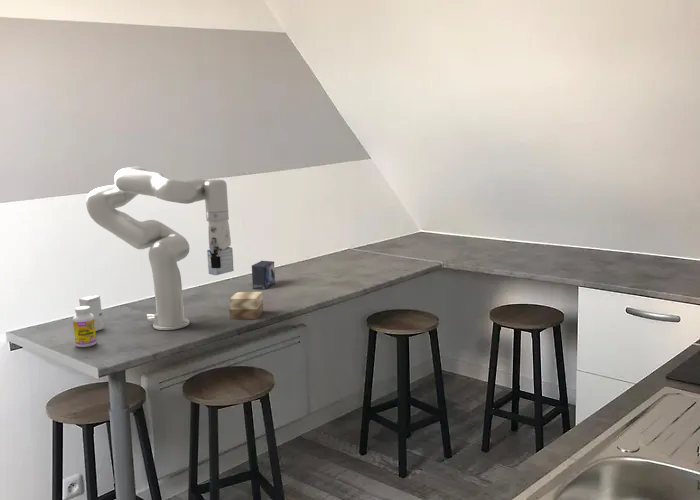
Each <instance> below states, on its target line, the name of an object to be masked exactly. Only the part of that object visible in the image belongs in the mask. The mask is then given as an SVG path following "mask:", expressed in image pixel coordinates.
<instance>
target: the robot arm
mask: <svg viewBox="0 0 700 500" xmlns="http://www.w3.org/2000/svg"><path fill="white" fill-rule="evenodd" d="M113 180H114V184H111V185H103V186H100V187H97V188H94V189H93V190H91V191H90V192H89V193H88V194H87V197H86V199H85V200H86V201H85V206H86V210H87V213H88V215H89V217H90V218H91V219H92V220H93V222H94V223H96V224H97V225H98V226H99V227H102V228H103V229H105V230H107V231H108V232H110V233H112V234H113V235H114V236H116V237H117V238H119V240H122V241H124V242H125V243H126V244H129V245H130V246H131V247H133V248H135V249H137V250H145V249H148V248H149V249H148V259H149V260H148V261H149V263H150V266H151V267H150V268H151V271H152V278H153V286H154V287H153V289H154V298H155V299H154V300H155V311H156V313H155V314H154V313H148V314H146V319H147V321H148V322H149V321H150V322H151V321H152V322H153V324H152V327H153V328H154V329H155V330H158V331H172V330H173V331H174V330H178V329H183V328H185V327H187V326H188V325H190V320H189V319H188V318H185V309H184V297H183V288H182V287H183V286H182V285H183V283H182V276H181V271H180V268H179V265H178V263H177V262H179V261H182V260H184V259H185V258H186V257H187V256H188V255H189V253H190V244H189V242H188V240H187V239H186V238H185V237H184V236H183V235H181V234H180V233H178V232H177V231H176V230H174V229H172V228H171V227H169V226H167V225H166V224H164V223H163V222H161V221H159V220H155V219H146V220H144V221H140V220H137V219H135V218H133V217H132V216H130V215H129V214H127V213H125V212H124V211H121V210H119V209H117V208H121V207H123V206H125V205H127V204H128V203H130V202H131V201H132V200H133V199H135V198H136V197H137V196H139V195H142V196H143V195H144V196H150V197H155V198H157V199H160V200H162V201H167V202H172V203H178V204H186V205H187V204H192V203H193V204H194V203H196V202H200V201H205V203H204V204H205V217H206V222H208V228H207V229H208V245H209V246H208V248H209V249H210V257H211V268H221V261H220V256H219V253H220V249H221V250H224V249H226V248H227V247H230V246H231V245H232V240H231V230H230V224H229V223H230V222H229V220H230V219H229V204H228V203H229V202H228V200H229V198H228V187H227V182H226V181H225V180H224V179H205V178H204V179H202V178H195V179H190V180H185V181H184V180H183V181H182V180H175V179H170V178H165V177H164V174H162V173H161V172H159V171H152V170H147V169H146V168H145V167H142V166H135V165H134V166H129V167H124V168H121V169H119V170H118V171H117V172H116V173H115V174H114V179H113ZM216 251H217V252H216Z"/></svg>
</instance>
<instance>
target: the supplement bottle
mask: <svg viewBox="0 0 700 500" xmlns="http://www.w3.org/2000/svg"><path fill="white" fill-rule="evenodd" d="M74 312H75V315H74V316H73V317H72V324H73V332H74V334H73V335H74V342H75V346H76V347H78V348H88V347H92V346H94V345H97V344H96V343H97V334H96V332H97V331H95V321H94V315H93V314H91V313H90V306H80V305H79V306H77V307H75V308H74Z"/></svg>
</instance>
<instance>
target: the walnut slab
mask: <svg viewBox="0 0 700 500" xmlns="http://www.w3.org/2000/svg"><path fill="white" fill-rule="evenodd" d="M263 313H264V302H263V303H262V304H261V305H260V306H259V307H258V309H233V310H230V309H229V319H230V320H231V319H232V320H235V319H236V320H244V319H245V320H257V319H258V318H259V317H260V315H262V314H263Z"/></svg>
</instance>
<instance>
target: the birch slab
mask: <svg viewBox="0 0 700 500" xmlns="http://www.w3.org/2000/svg"><path fill="white" fill-rule="evenodd" d="M262 303H263V304H264V297H263V291H238V292H235V293H234V294H233V295H232V296H231V297H230V298H229V311H230V310H233V309H258V307H259V306H260V305H261V304H262Z"/></svg>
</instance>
